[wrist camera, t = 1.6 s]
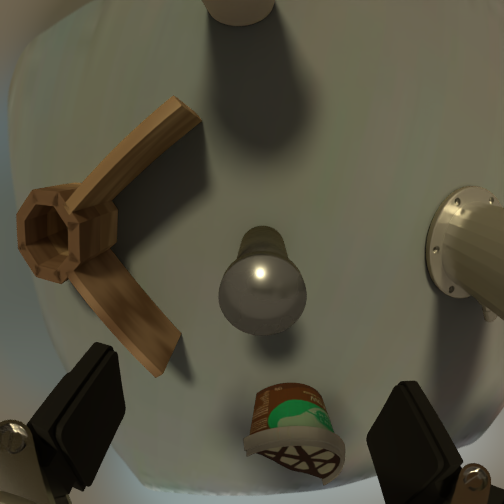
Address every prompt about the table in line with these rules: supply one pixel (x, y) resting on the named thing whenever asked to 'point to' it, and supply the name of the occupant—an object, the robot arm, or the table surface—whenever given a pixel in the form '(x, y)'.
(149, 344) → the hinge
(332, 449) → the food container
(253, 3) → the coffee cup
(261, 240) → the pin
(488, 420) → the table surface
